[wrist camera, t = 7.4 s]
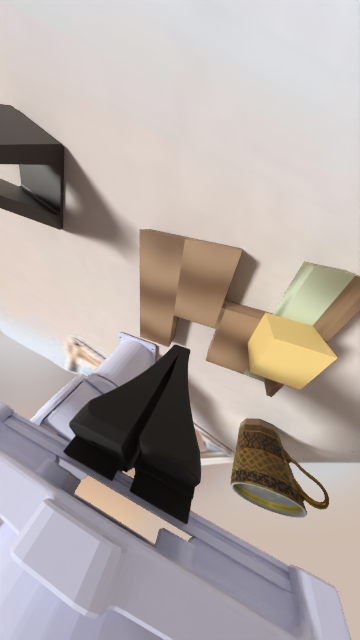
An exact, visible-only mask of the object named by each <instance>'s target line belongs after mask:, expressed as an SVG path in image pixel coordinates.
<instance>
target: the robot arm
mask: <svg viewBox="0 0 360 640" xmlns="http://www.w3.org/2000/svg"><path fill="white" fill-rule="evenodd" d="M118 337H119V346H118V347H117V348H116V349H115V350H114V351H113V352H112V353H111V354H110V355H109V356H108V357H107V358H106V359H105V360H104V361H103V362H102V363H101V364H100V365H99V366H98V367H97V368H96V369H95V370H94V371H93V372H92V373H91V374H90V375H89V376H87V377H86V376H85V375H83V374H82V375H77V376H75V377H74V378H73V379H72V380H71V381H70V382H69V383H68V384H67V385H66V386H64V387H63V388H62V389H61V390H60V391H59V392H58V393H57V394H55V395H54V396H53V397H52V398H51V399H50V400H49V401H48V402H47V403H46V404H45V405H44V406H43V407H42V408H41V409H40V410H38V412H37V414H36V415H35V416H34V417H33V418H32V419H30V420H28V419H26V418H24V417H23V416H21V415H19V414H17V413H15V412H14V411H13V409H11V407H9V406H8V405H6V404H5V403H3V402H1V401H0V640H351V637H350V634H349V630H348V627H347V624H346V619H345V616H344V612H343V609H342V605H341V602H340V598H339V594H338V591H337V590H336V588H335V587H334V586H333V585H331V584H329V583H327V582H326V581H324V580H322V579H320V578H318V577H317V576H315V575H313V574H311V573H309V572H308V571H306V570H304V569H301V568H299V567H297V566H294V565H287V564H285V563H283V562H281V561H280V560H277V559H276V558H274V557H273V556H271V555H269V554H267V553H265V552H263V551H262V550H260V549H258V548H256V547H255V546H253V545H251V544H249V543H248V542H246V541H244V540H242V539H240V538H239V537H237V536H235V535H233V534H231V533H230V532H228V531H226V530H224V529H223V528H221V527H219V526H217V525H215V524H214V523H212V522H210V521H208V520H206V519H205V518H203V517H201V516H199V515H198V514H196V513H194V512H192V511H190V507H191V501H192V499H193V494H194V489H195V487H196V486H197V485H198V484H199V483H200V480H201V461H200V450H199V446H198V442H197V438H196V434H195V429H194V424H193V419H192V413H191V407H190V400H189V391H188V360H189V355H190V349H187V348H184V347H181V346H179V345H176V344H175V345H174V346H173V347H172V348H171V349H170V350H169V351H168V352H167V353H166V354H165V355H164V356H163V357H162V358H160V359H159V360H158V361H157V362H156V363H155V356H156V346H155V345H154V344H151V343H149V342H146V341H143V340H140V339H138V338H135V337H132V336H130V335H127V334H124V333H121V332H120V333H118ZM85 377H86V378H85ZM84 378H85V379H84ZM133 467H134V468H135V476H134V479H133V478H132V477H130V476H128V475H126V474H124V473H123V472H122V471H125V472H127V471H128V470H130V469H132V468H133ZM88 475H89V476H91V477H92V478H94V479H96V480H97V481H99V482H101V483H102V484H104V485H106V486H107V487H109V488H111V489H113V490H115V491H116V492H118V493H119V494H121V495H123V496H124V497H126V498H128V499H129V500H131V501H133V502H134V503H136V504H138V505H140V506H141V507H143V508H145V509H146V510H148V511H150V512H151V513H153V514H155V515H157V516H158V517H160V518H162V519H163V520H165V521H167V522H168V523H170V524H172V525H174V526H175V527H177V528H178V529H180V530H182V531H184V532H185V533H187V534H189V535H190V536H192V537H191V538H190V539H189V540H188V542H187V541H186V540H184V539H182V538H180V537H179V536H177V535H175V534H173V533H171V532H170V531H168V530H166V529H164V528H163V529H159V532H158V536H157V540H156V543H155V544H154V543H152V542H150V541H149V540H147V539H146V538H144V537H143V536H141V535H140V534H138V533H136V532H135V531H133V530H132V529H130V528H129V527H127V526H126V525H124V524H122V523H121V522H119V521H118V520H116V519H114V518H113V517H111V516H110V515H108V514H106V513H105V512H103V511H102V510H100V509H98V508H97V507H95V506H93V505H92V504H90V503H89V502H87V501H86V500H84V499H82V498H80V497H79V496H77V495H76V494H74V493H75V490H76V489H77V487H78V485H79V484H80V482H81V480H82V479H84V478H86V477H87V476H88Z"/></svg>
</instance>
